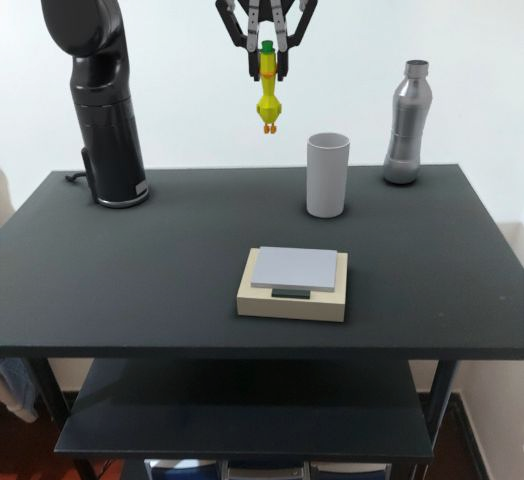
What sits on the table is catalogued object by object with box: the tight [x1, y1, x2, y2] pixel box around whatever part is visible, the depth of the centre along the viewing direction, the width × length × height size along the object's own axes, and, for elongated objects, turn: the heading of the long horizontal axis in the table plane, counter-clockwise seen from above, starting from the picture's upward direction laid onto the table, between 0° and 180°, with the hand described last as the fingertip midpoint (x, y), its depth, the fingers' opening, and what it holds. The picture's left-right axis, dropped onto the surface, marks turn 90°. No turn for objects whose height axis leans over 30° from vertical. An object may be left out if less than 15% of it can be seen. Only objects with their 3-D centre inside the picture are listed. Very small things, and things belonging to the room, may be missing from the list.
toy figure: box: [255, 39, 283, 135], centre depth 76 cm, size 7×4×12 cm, turn 174°
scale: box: [236, 246, 348, 323], centre depth 75 cm, size 14×12×4 cm
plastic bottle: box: [382, 59, 434, 185], centre depth 94 cm, size 6×7×20 cm
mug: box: [306, 131, 351, 219], centre depth 90 cm, size 10×7×12 cm, turn 167°
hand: (268, 79), depth 75 cm, fingers closed on toy figure, 2 cm apart
